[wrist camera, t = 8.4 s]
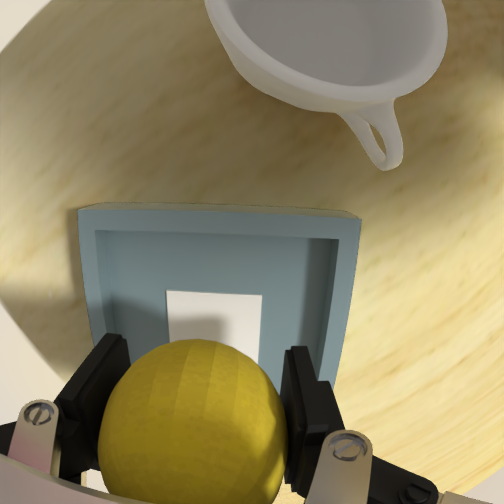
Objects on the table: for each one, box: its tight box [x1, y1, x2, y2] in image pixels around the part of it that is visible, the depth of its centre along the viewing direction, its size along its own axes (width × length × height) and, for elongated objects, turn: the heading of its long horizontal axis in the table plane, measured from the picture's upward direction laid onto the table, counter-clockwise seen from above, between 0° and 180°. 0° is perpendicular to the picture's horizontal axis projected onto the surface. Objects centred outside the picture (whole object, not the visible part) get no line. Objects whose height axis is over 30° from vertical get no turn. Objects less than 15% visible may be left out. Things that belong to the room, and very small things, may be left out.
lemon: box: [98, 339, 289, 504], centre depth 8 cm, size 6×6×8 cm
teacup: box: [204, 0, 448, 171], centre depth 9 cm, size 10×8×5 cm
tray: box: [77, 203, 362, 396], centre depth 14 cm, size 11×11×2 cm
